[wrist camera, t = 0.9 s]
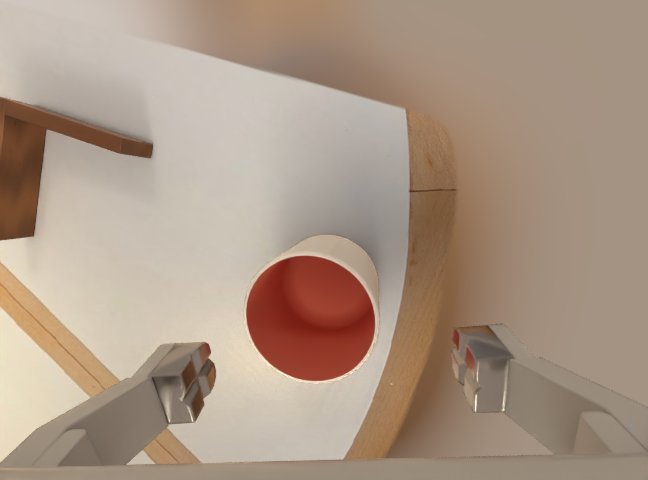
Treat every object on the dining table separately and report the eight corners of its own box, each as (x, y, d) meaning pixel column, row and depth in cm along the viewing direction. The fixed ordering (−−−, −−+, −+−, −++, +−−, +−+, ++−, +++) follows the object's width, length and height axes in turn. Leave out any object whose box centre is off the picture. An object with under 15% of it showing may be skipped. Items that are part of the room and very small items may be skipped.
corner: (37, 106, 34) (-7, 95, 30) (153, 144, 32) (122, 137, 28) (23, 232, 37) (-19, 237, 33) (129, 273, 35) (98, 283, 31)
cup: (361, 339, 31) (355, 404, 22) (273, 308, 33) (229, 356, 23) (391, 249, 29) (399, 277, 20) (296, 220, 31) (259, 233, 21)
